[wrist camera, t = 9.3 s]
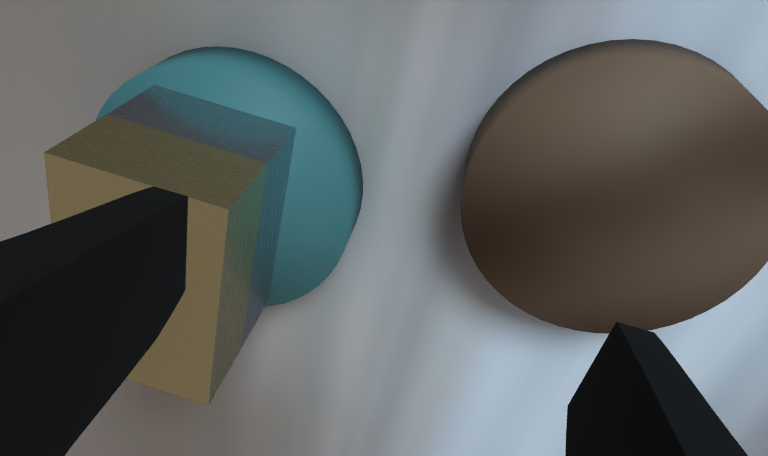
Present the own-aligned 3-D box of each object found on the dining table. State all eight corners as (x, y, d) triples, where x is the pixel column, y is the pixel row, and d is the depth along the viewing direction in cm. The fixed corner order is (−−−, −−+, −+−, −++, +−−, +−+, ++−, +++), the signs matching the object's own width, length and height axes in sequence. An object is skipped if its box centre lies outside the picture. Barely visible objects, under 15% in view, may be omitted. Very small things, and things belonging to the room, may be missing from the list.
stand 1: (410, 223, 21) (401, 254, 19) (228, 304, 25) (207, 336, 23) (258, -9, 18) (231, 5, 16) (74, 124, 22) (37, 146, 20)
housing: (268, 300, 22) (208, 405, 17) (151, 263, 22) (64, 359, 18) (296, 127, 18) (228, 210, 14) (154, 84, 18) (44, 152, 14)
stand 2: (805, 239, 19) (834, 277, 17) (536, 326, 22) (538, 364, 21) (711, -26, 15) (735, -12, 14) (415, 128, 19) (406, 153, 17)
